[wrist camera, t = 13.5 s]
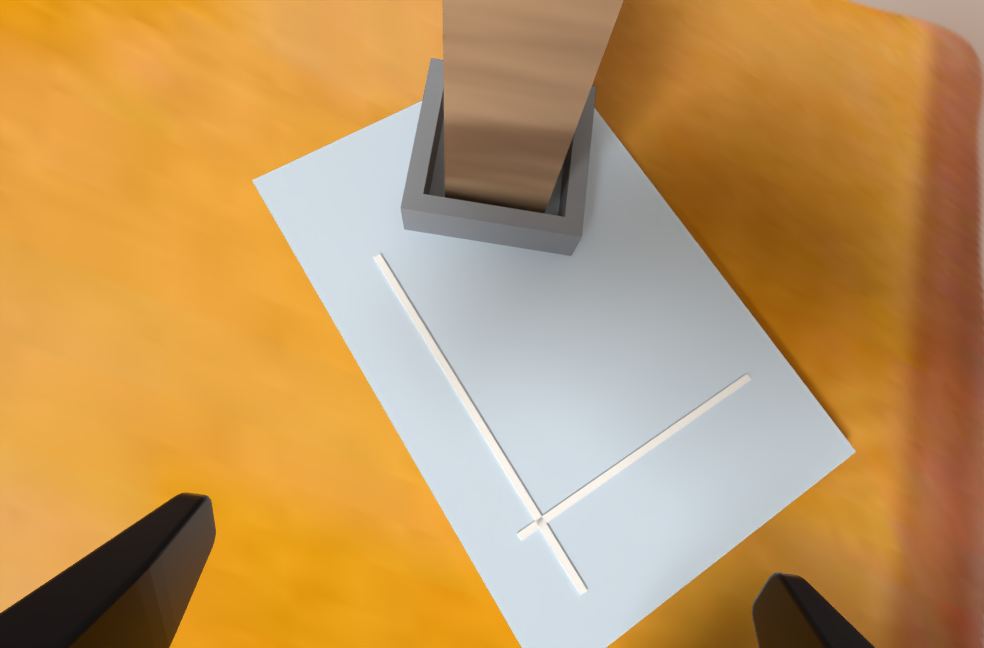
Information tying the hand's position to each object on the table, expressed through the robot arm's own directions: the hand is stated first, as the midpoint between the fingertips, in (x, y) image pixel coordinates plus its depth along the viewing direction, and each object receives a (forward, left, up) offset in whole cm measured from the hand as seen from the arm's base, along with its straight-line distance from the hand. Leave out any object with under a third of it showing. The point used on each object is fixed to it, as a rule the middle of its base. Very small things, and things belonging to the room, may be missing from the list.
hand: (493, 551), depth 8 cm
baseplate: (+5, -7, -14) cm, 16 cm away
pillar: (+12, -9, -13) cm, 20 cm away
